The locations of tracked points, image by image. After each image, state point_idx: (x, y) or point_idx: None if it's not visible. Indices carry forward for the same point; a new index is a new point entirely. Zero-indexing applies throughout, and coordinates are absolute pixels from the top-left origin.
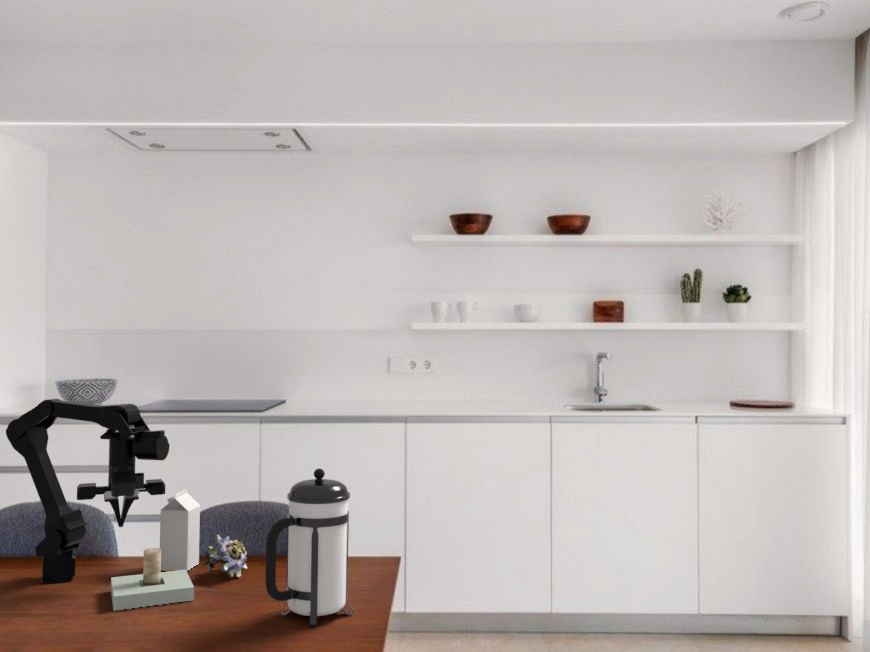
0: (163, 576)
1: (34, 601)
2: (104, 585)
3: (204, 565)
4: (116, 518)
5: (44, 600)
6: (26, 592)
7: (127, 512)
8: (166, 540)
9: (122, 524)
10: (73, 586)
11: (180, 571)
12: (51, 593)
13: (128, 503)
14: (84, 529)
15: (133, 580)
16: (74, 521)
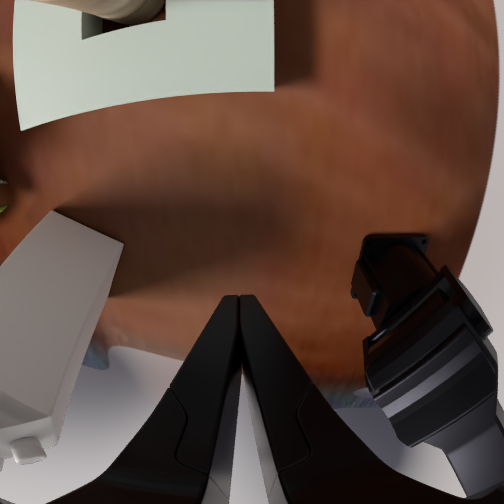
0: (78, 54)
1: (460, 103)
2: (285, 161)
3: (4, 206)
4: (286, 344)
5: (443, 96)
6: (460, 187)
7: (167, 392)
8: (66, 300)
9: (225, 306)
10: (369, 188)
11: (32, 110)
12: (424, 149)
13: (135, 496)
14: (375, 378)
15: (186, 22)
16: (434, 388)
